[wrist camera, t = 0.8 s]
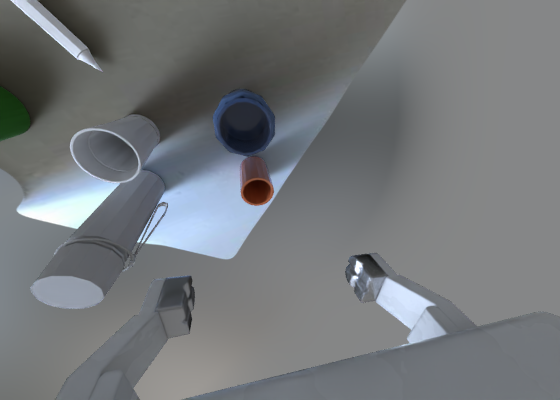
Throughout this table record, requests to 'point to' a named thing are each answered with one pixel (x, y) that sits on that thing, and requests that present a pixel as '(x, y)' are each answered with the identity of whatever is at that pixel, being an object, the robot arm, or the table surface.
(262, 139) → the cup stack
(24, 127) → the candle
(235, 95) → the stack rims
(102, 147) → the cup
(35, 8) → the marker
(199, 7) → the table surface
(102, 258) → the water bottle
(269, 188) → the terracotta cup
